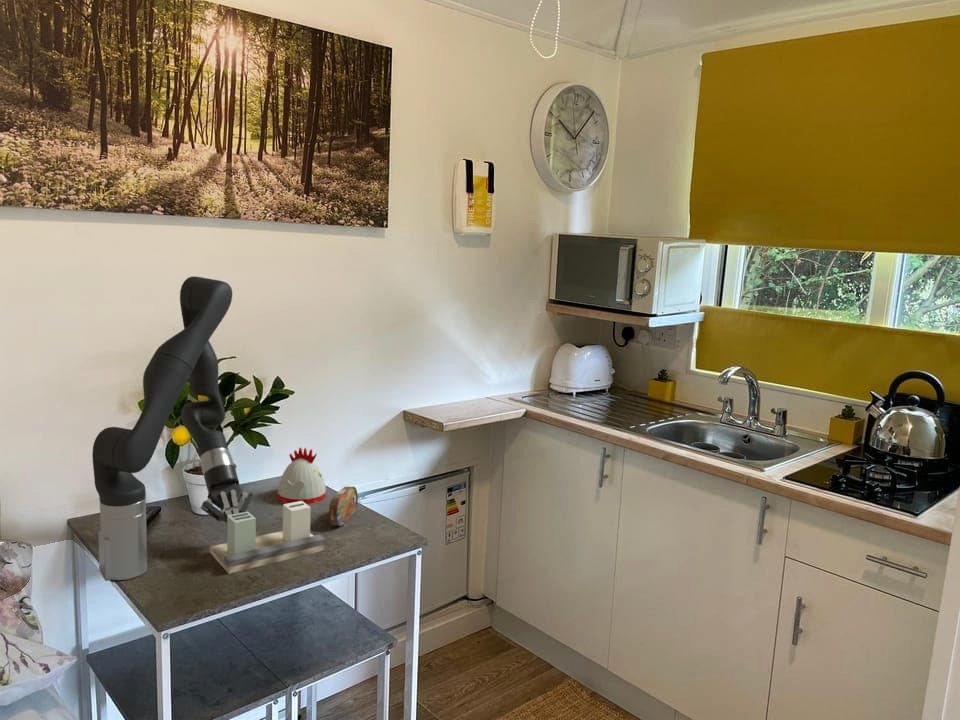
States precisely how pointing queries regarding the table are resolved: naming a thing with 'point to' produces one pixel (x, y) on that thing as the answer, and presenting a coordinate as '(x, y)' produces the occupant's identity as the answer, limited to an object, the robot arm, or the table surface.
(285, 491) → the kitchen timer
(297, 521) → the key one
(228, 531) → the key two
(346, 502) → the tin
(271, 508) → the table surface
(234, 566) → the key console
